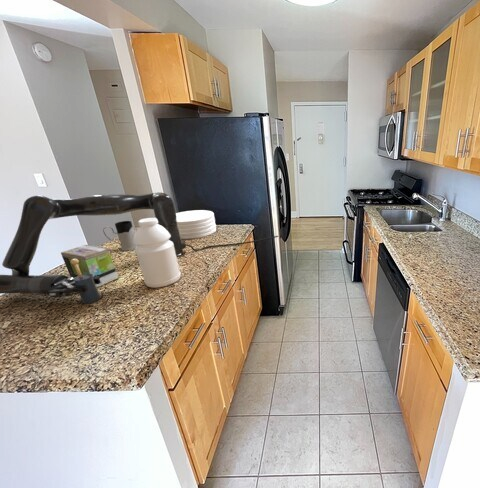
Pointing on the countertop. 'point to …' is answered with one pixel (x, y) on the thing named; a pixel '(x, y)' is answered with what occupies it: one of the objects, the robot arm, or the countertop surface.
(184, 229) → the plate stack
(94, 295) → the spoon crock
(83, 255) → the tea box
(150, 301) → the countertop surface
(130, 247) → the glass holder
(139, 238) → the bottle
